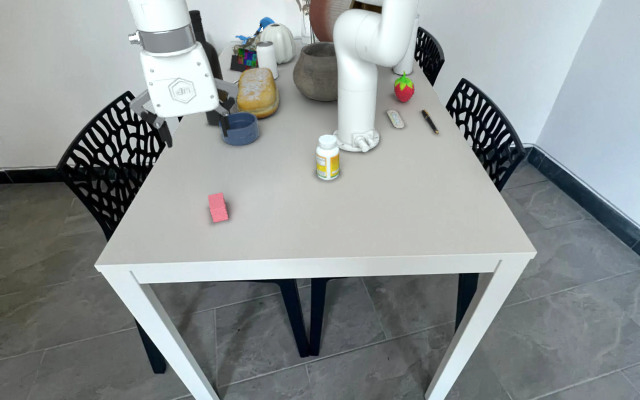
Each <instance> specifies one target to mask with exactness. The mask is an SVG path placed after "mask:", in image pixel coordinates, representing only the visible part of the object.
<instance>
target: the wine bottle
mask: <svg viewBox="0 0 640 400" xmlns="http://www.w3.org/2000/svg"><path fill="white" fill-rule="evenodd" d="M188 11H189V15H190V19H191V23H192V27H193V31H194V35H195V39H196V41H198V42H200V43H201V45H202V47H203V49H204V51H205V53H206V56H207V58H208V61H209V64H210V67H211V71H212V74H213V77H214V78H217V79H220V80H223V81H224V77H223V72H222V67H221V63H220V58H219V54H218V51H217V49H216V48H215V47H214V45H213V44H212V43H210V42H209V41H207V39H206V35H205V30H204V26H203V22H202V16H201V11H200V9H199V10H198V9H193V10H188ZM217 92H218V98H219V100H221V101H222V102H224V101H225V99H226V98H227V96H228V94H227V91H224V90H221V89H217ZM204 113H205V116H206V120H207V125H210V126H216V127H220V126H219V121H220V118H219V114H218V112H217V111H216V110H212V111H208V112H204ZM229 114H232V113H231V110H230V111H229ZM229 114H228V115H229Z"/></svg>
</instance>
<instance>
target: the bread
mask: <svg viewBox="0 0 640 400" xmlns="http://www.w3.org/2000/svg"><path fill="white" fill-rule="evenodd" d="M238 80H239V82H237V86H238V89H239V91H238V95H237V98H236V105H237V106H236V108H237V112H248V113H252V114H254V115H255V116H256V117H257V120H258V119H264V118H268V117H269V116H272V115H273V114H274V113H276V111H277V109H278V107H279V105H280V91H279V87H278V85H277V83H276V81H275V80H276V79H275V80H274V77H273V74H272V72H271V70H270V69H268V68H256V67H253V68H250V69H249V70H245V71H244V72H241V74H240V75H239V78H238Z"/></svg>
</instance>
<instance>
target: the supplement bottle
mask: <svg viewBox="0 0 640 400" xmlns="http://www.w3.org/2000/svg"><path fill="white" fill-rule="evenodd" d="M336 144H337V139H336V137H335V136H333V135H332V134H323V135H320V136H319V137H318V145H317V146H316V149H315V161H316V162H315V163H316V164H315V165H316V175H317V177H318V178H320V179H321V180H323V181H332V180H334V179H336V178H337V177H339V175H340V153H341V152H340V148H339V147H338V146H337V145H336Z"/></svg>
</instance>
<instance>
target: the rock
mask: <svg viewBox="0 0 640 400" xmlns="http://www.w3.org/2000/svg"><path fill="white" fill-rule="evenodd" d="M261 33H262V31H261V30H260V32H259V34H258V35H256V36H255V37H253V38H248V40H247V42H246V44H244V45H242V44H235V45H233V46H231V49H232V52H233V55H237V54H238V48H242V49H248V50H254V51H256V48H257V43H259V42H260V36H261Z"/></svg>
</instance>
